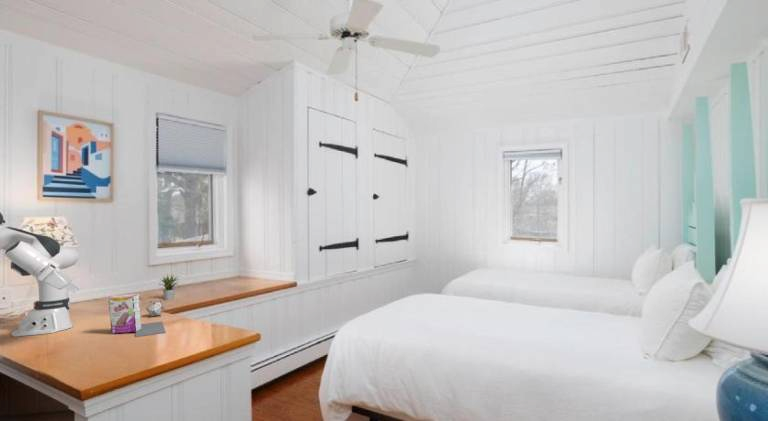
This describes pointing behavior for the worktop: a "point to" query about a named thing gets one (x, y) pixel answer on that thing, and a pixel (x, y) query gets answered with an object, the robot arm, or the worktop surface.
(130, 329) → the candy bar box
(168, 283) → the house plant
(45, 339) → the worktop surface
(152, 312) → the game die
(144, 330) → the mat
